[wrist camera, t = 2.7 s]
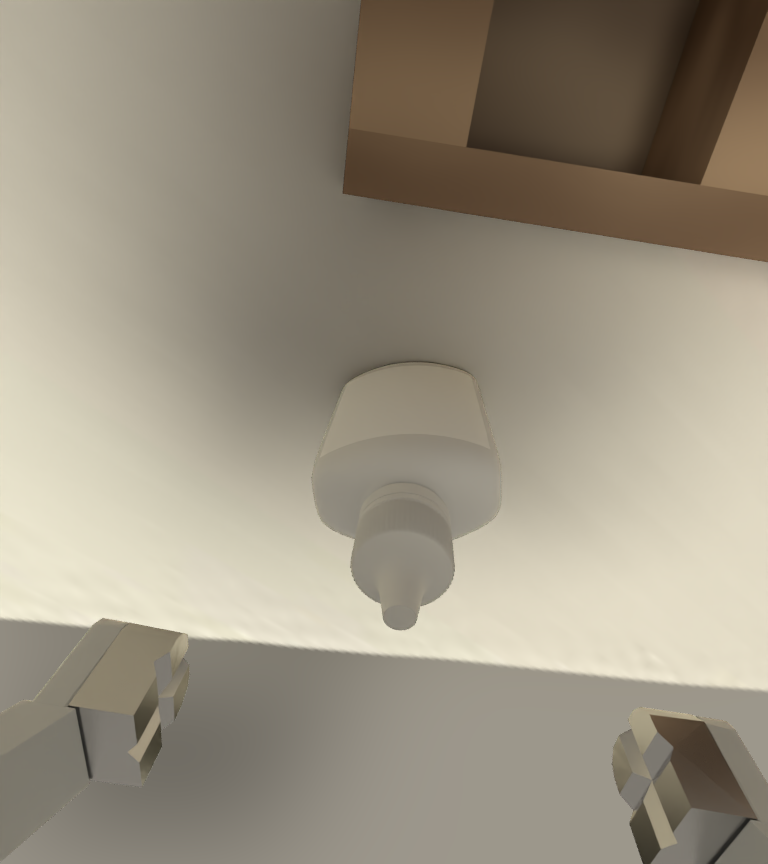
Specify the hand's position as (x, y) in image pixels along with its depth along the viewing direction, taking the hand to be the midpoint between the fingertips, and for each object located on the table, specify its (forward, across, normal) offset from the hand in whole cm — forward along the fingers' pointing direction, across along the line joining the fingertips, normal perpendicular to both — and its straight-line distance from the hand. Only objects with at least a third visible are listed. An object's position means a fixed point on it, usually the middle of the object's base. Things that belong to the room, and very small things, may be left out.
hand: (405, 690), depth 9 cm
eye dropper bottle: (+14, 0, 0) cm, 14 cm away
